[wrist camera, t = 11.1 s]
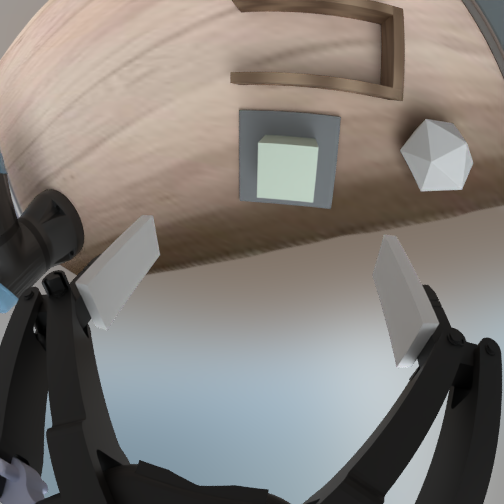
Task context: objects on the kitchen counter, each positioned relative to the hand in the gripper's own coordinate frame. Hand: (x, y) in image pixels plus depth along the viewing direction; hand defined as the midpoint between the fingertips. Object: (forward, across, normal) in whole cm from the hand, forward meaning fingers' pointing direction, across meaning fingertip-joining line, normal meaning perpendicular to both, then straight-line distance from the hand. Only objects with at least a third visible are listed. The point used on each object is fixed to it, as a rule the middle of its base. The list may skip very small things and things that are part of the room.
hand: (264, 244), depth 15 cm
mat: (+21, +1, 0) cm, 21 cm away
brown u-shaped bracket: (+21, +4, +15) cm, 26 cm away
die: (+21, +19, +4) cm, 28 cm away
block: (+20, +1, 0) cm, 21 cm away
